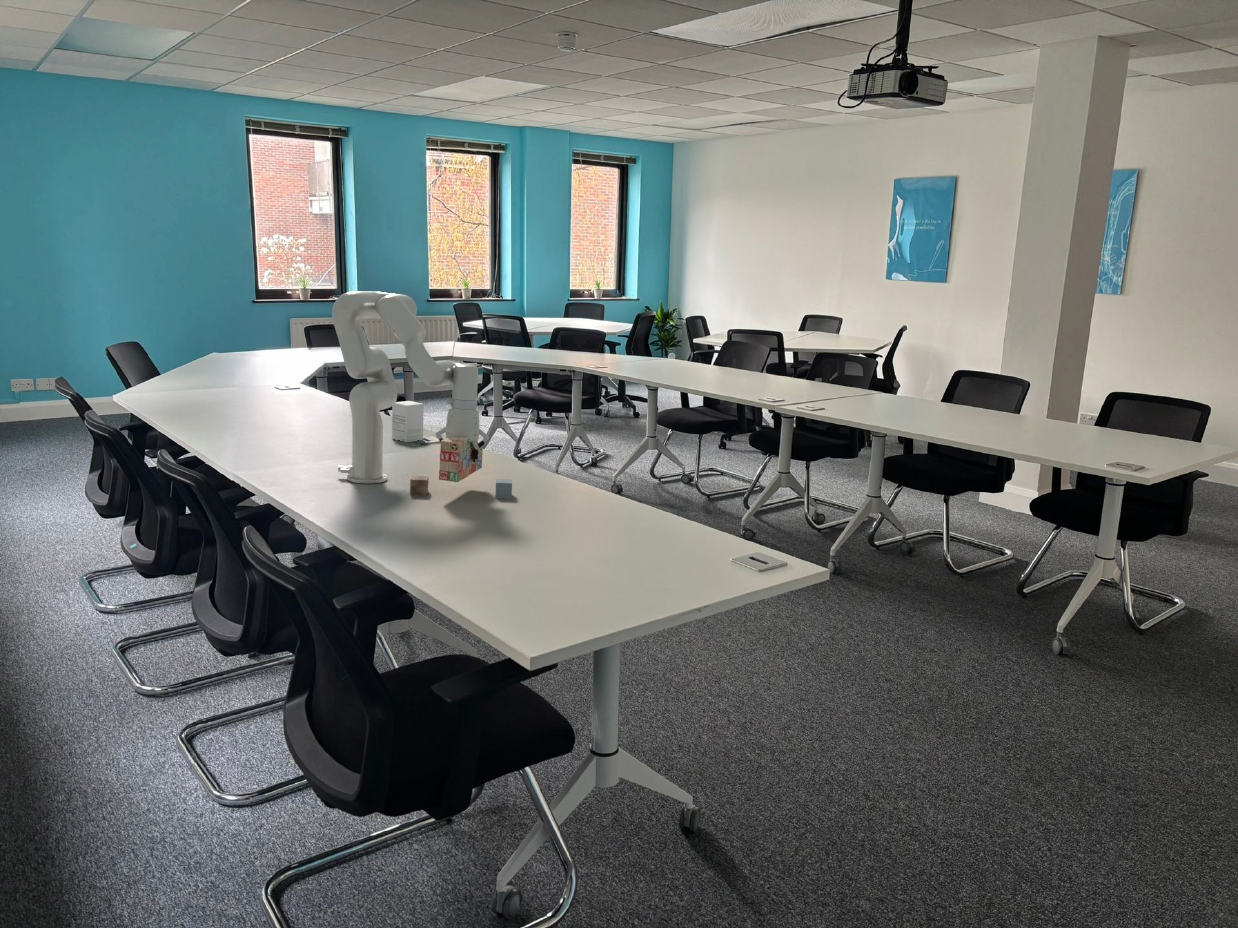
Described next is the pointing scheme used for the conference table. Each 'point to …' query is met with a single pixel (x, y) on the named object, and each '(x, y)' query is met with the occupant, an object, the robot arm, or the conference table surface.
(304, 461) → the conference table surface
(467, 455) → the stack of blocks
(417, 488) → the walnut cube
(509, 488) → the slate cube
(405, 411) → the supplement box
